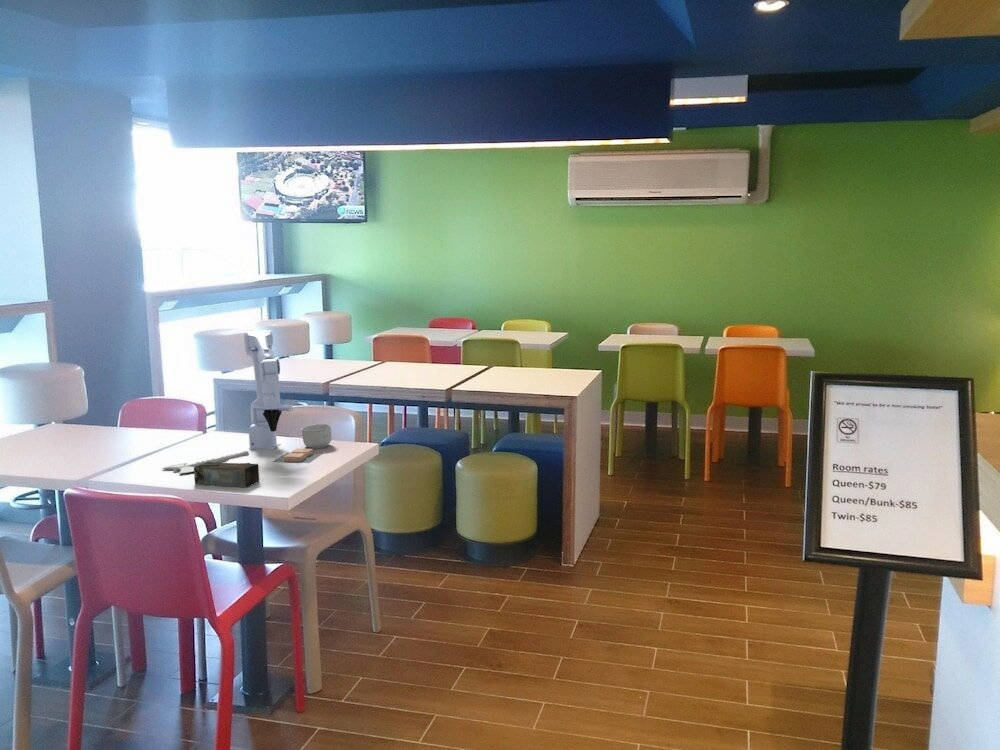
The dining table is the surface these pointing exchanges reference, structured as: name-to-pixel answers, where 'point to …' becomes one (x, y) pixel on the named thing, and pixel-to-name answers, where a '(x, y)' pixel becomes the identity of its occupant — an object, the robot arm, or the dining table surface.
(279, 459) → the mat
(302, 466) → the dining table surface
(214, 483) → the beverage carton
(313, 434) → the teacup
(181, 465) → the axe
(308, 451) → the tile
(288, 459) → the tile
